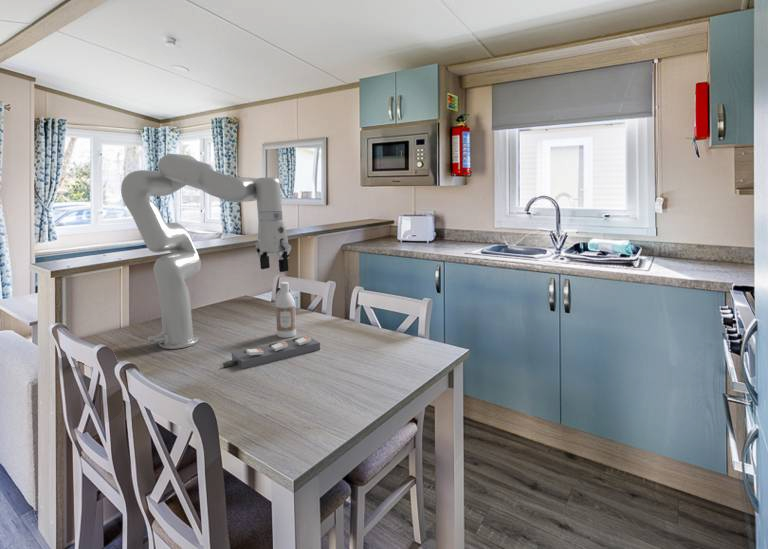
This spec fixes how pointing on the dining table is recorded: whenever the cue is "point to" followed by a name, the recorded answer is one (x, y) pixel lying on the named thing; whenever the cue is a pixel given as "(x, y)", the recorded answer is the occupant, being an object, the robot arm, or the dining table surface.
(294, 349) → the power strip
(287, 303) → the bath foam
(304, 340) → the rocker right
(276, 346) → the rocker middle
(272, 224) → the robot arm
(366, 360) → the dining table surface
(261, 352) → the rocker left
